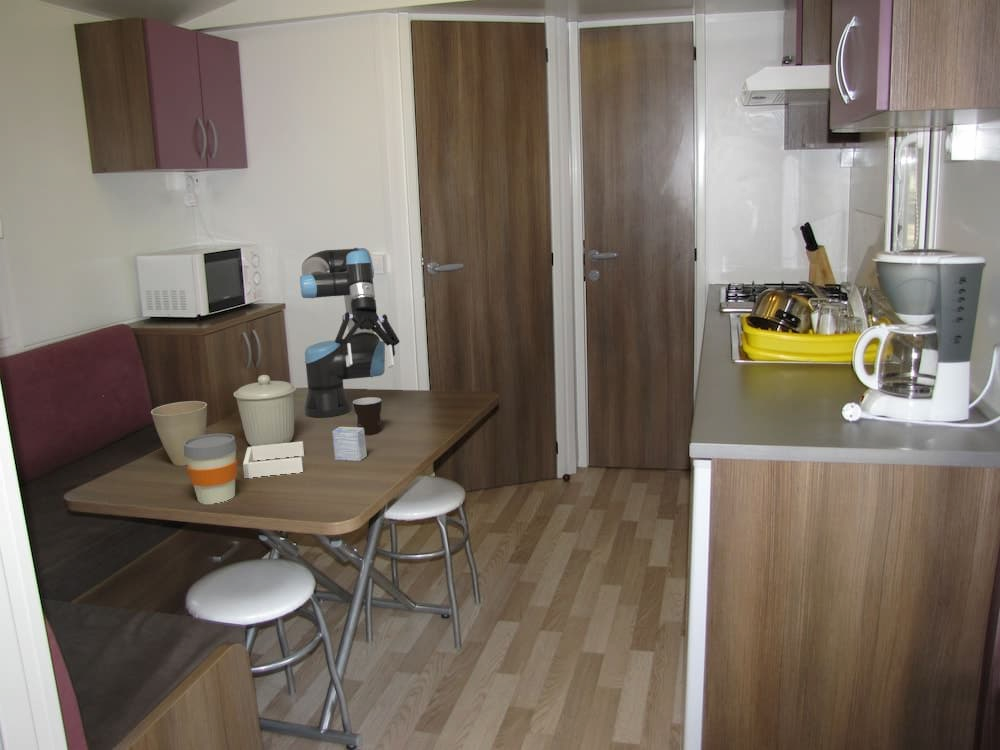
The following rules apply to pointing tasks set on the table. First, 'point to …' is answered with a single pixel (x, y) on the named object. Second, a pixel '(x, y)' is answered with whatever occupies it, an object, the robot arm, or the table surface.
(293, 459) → the shallow white tray
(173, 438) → the plant pot
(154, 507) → the table surface
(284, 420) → the canister
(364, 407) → the coffee mug
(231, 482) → the reusable coffee cup
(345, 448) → the medicine box
